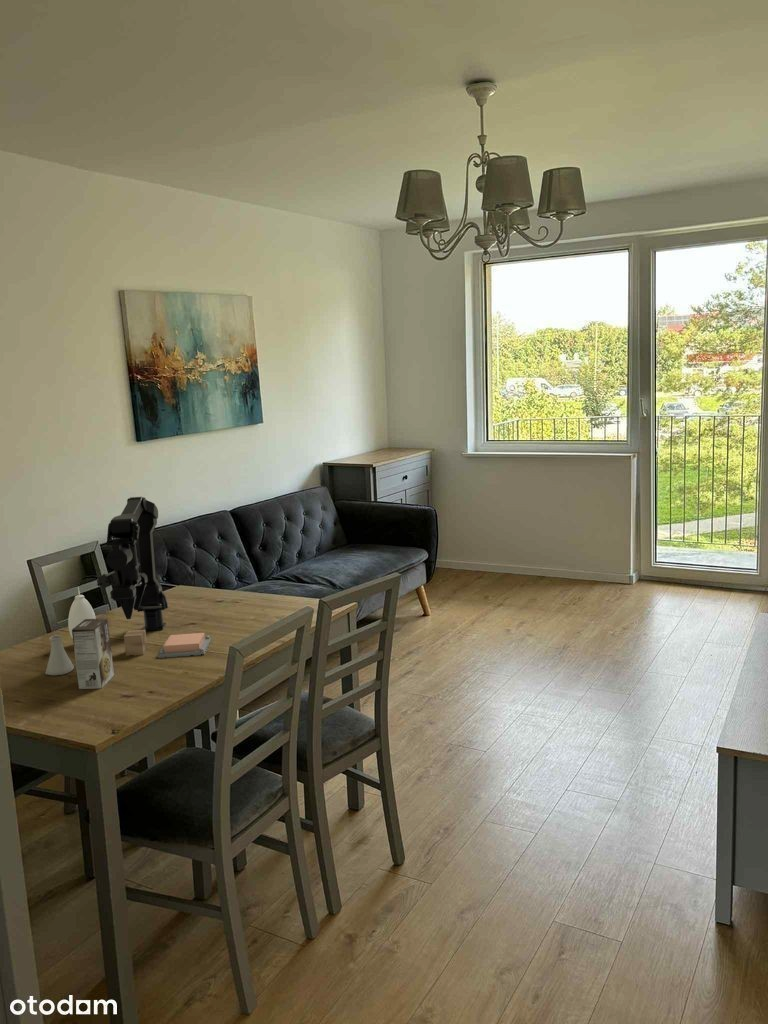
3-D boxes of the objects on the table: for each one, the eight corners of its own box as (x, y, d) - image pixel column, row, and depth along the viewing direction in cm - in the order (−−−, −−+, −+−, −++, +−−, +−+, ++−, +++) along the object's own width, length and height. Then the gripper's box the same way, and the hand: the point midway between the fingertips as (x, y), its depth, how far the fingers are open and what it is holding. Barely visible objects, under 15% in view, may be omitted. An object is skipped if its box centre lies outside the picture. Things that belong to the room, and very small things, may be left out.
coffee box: (91, 676, 219) (84, 618, 217) (115, 675, 219) (108, 617, 216) (77, 689, 210) (70, 629, 208) (102, 688, 210) (95, 628, 207)
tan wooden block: (130, 650, 240) (128, 630, 239) (147, 649, 240) (145, 629, 239) (125, 656, 235) (123, 636, 234) (143, 654, 235) (141, 634, 234)
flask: (64, 676, 220) (59, 641, 219) (40, 676, 222) (35, 640, 220) (79, 667, 227) (75, 632, 226) (56, 666, 229) (51, 632, 227)
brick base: (167, 643, 244) (166, 633, 244) (211, 640, 245) (210, 630, 244) (158, 658, 231) (157, 647, 231) (204, 654, 232) (203, 644, 232)
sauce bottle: (87, 649, 242) (80, 590, 240) (65, 648, 245) (58, 590, 242) (104, 641, 250) (97, 584, 247) (83, 640, 252) (76, 583, 249)
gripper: (107, 556, 242) (112, 607, 244) (88, 571, 223) (95, 626, 226) (145, 553, 242) (150, 604, 245) (130, 568, 224) (135, 623, 227)
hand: (132, 614), depth 236 cm, fingers open, 9 cm apart
